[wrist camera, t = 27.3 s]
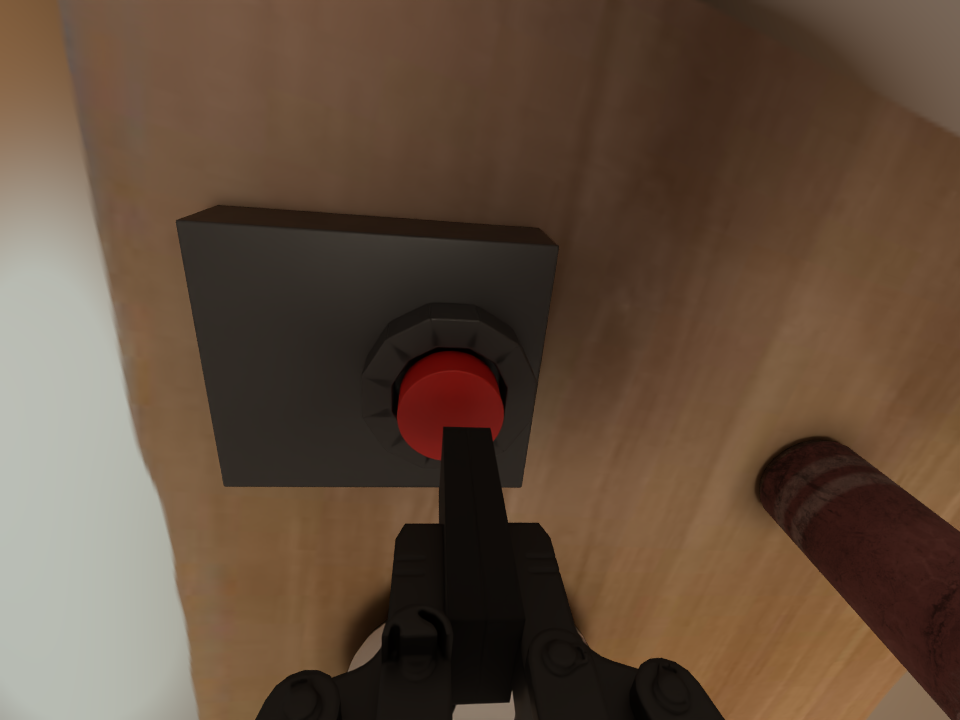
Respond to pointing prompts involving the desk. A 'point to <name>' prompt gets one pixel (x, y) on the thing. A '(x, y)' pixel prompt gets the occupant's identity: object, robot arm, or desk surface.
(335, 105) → the desk surface
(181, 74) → the desk surface
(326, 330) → the push button base
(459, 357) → the power button
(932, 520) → the can
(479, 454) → the robot arm
